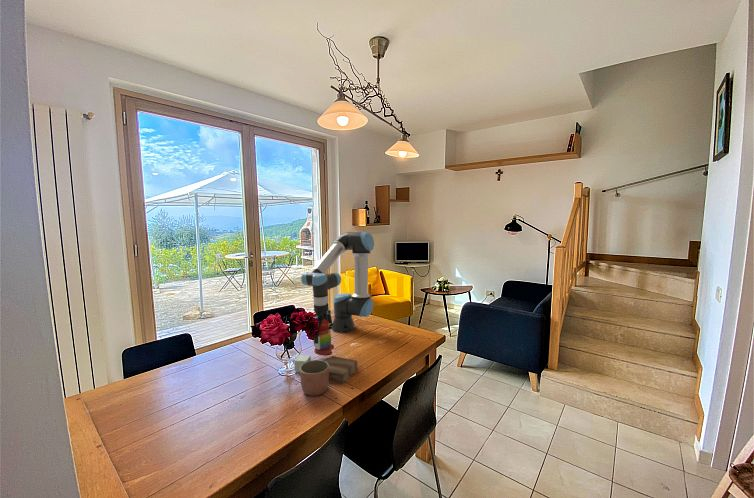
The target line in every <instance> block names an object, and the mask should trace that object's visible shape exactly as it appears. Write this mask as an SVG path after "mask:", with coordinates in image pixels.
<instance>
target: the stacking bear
mask: <svg viewBox="0 0 754 498" xmlns="http://www.w3.org/2000/svg"><path fill="white" fill-rule="evenodd" d="M318 322H320V321H318ZM329 326H330V323H329V322H328V321H327V320H326V319H324V320H323V322H322V324H321V327H320V332H319V336H318V337H320V349H315V348H314V352H313V353H315V354H316V355H318V356H332V354H333V351H332V350H334V349H335V345H334V344H332V335H330V331H329V329H328V328H329ZM312 342H313V345H314V347H315V343H314V340H313V341H312Z"/></svg>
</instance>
